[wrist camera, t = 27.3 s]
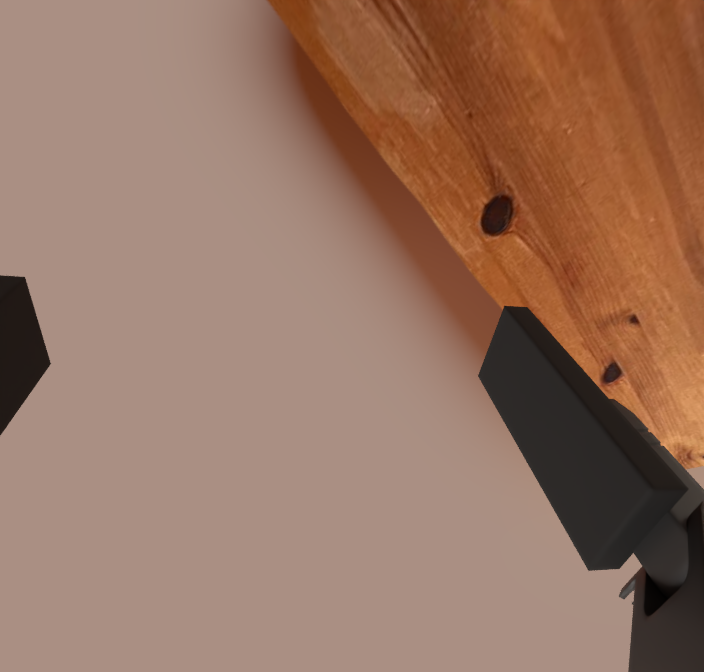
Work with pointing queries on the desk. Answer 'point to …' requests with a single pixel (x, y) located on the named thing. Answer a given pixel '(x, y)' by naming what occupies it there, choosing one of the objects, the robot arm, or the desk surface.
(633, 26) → the desk surface
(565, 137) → the desk surface
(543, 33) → the desk surface
